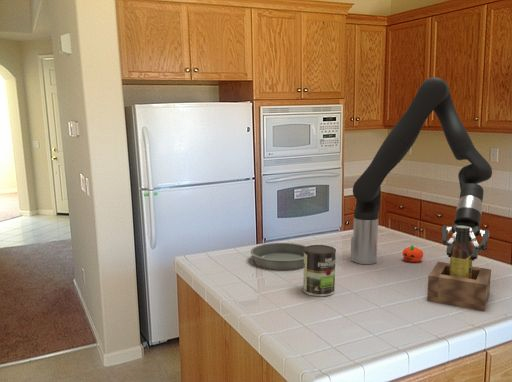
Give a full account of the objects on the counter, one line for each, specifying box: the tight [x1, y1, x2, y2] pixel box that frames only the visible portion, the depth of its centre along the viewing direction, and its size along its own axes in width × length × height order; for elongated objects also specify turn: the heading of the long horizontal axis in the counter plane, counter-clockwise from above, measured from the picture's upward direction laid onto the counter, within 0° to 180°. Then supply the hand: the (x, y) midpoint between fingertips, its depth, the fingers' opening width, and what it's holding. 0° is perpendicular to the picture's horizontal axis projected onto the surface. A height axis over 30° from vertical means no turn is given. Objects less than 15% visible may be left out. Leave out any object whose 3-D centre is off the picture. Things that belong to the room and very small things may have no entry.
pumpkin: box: [401, 244, 424, 263], centre depth 184 cm, size 7×8×6 cm
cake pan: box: [250, 242, 307, 271], centre depth 184 cm, size 25×25×4 cm
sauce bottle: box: [449, 226, 473, 279], centre depth 146 cm, size 7×6×20 cm
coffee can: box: [302, 244, 337, 297], centre depth 152 cm, size 10×10×14 cm
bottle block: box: [426, 261, 492, 312], centre depth 147 cm, size 16×16×8 cm
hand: (461, 257), depth 145 cm, fingers closed on sauce bottle, 6 cm apart
